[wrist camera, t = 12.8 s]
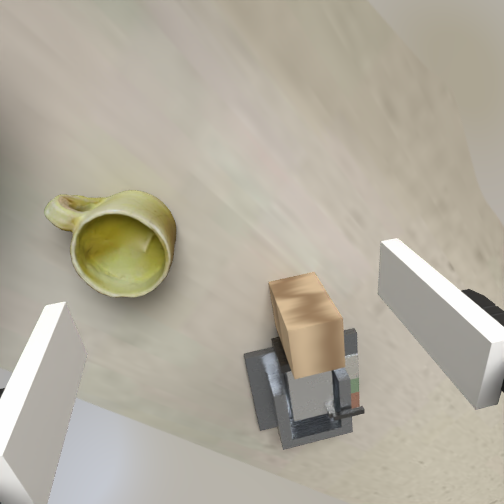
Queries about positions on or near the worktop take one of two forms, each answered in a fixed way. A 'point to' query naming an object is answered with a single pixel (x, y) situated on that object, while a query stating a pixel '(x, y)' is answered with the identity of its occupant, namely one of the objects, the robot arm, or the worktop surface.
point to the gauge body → (276, 399)
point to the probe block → (307, 325)
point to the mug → (117, 240)
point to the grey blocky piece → (309, 391)
